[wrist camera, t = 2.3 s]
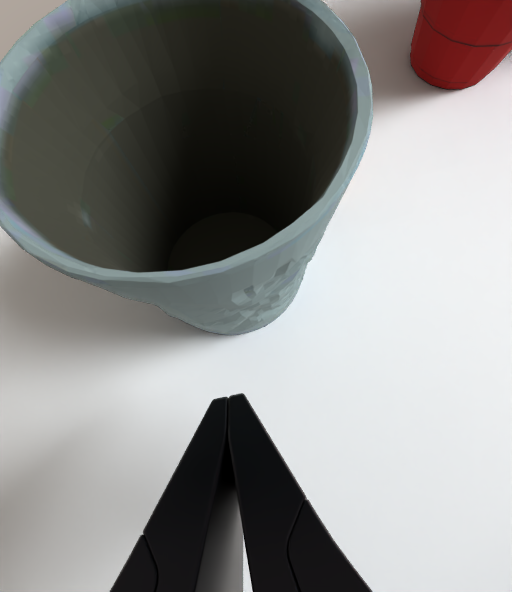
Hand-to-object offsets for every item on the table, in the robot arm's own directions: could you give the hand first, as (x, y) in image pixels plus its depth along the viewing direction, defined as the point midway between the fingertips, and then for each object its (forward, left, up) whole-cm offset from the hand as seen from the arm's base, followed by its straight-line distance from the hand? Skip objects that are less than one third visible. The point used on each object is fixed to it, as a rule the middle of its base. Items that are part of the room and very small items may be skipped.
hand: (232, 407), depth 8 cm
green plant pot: (+5, +6, -9) cm, 12 cm away
